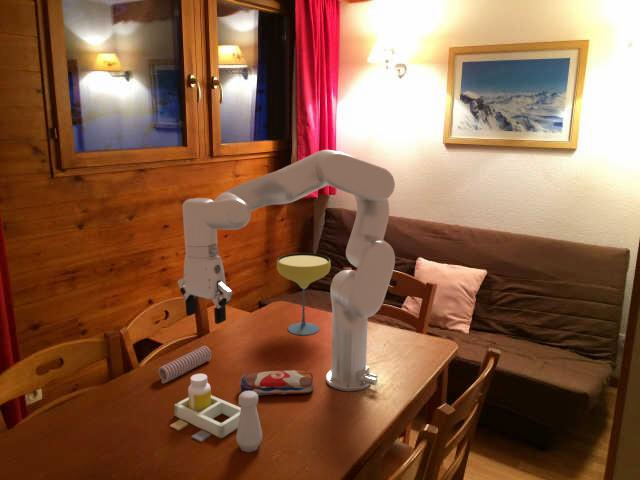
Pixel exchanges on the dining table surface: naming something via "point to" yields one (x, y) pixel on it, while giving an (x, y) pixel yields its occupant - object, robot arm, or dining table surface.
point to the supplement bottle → (199, 393)
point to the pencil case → (278, 382)
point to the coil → (184, 364)
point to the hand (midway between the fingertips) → (206, 318)
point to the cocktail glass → (303, 280)
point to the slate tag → (201, 435)
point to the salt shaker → (248, 422)
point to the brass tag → (179, 425)
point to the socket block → (210, 416)
